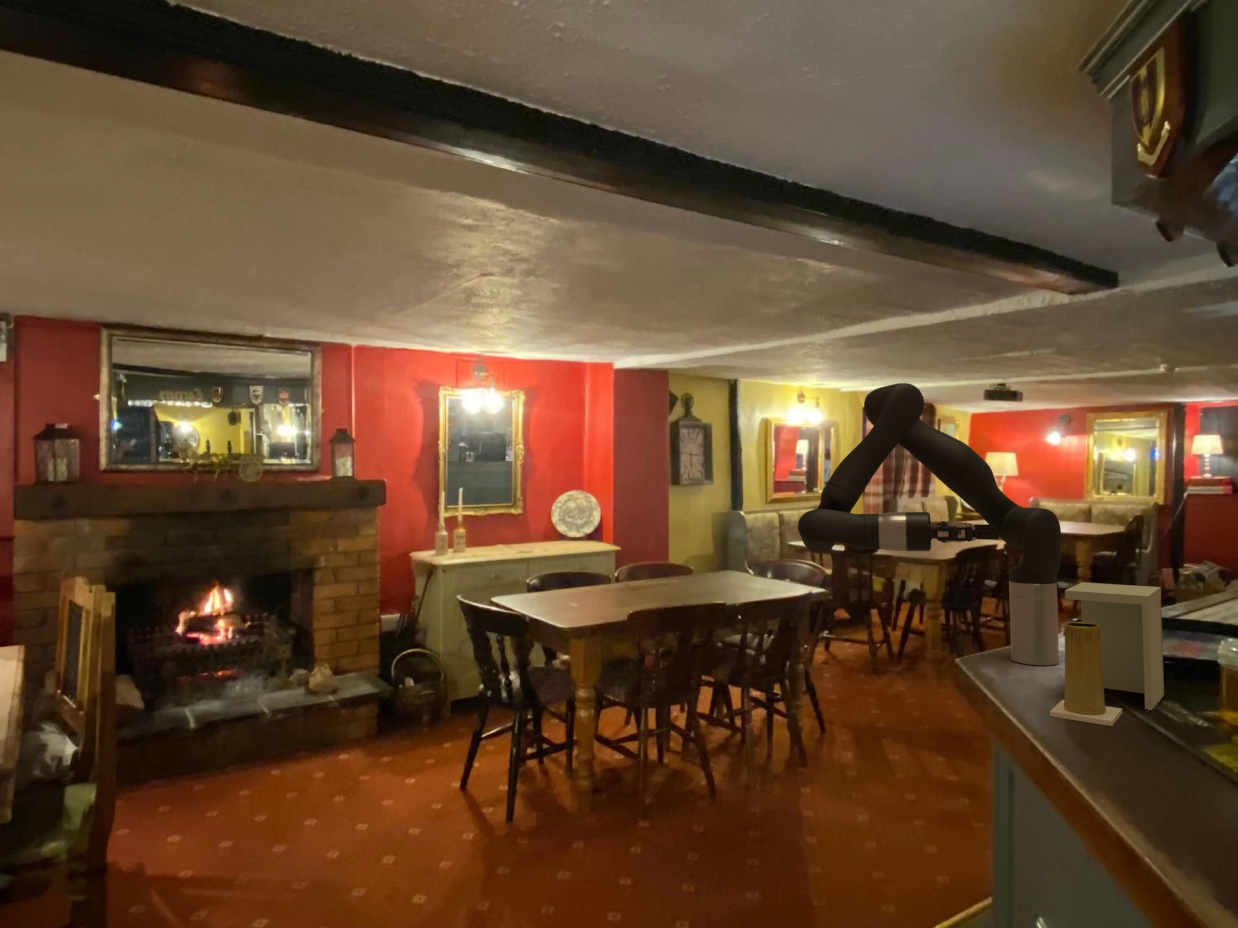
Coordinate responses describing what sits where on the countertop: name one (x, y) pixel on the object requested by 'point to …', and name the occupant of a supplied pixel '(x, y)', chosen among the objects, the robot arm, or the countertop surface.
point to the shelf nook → (1126, 635)
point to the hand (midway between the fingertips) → (996, 531)
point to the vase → (1083, 669)
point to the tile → (1087, 715)
